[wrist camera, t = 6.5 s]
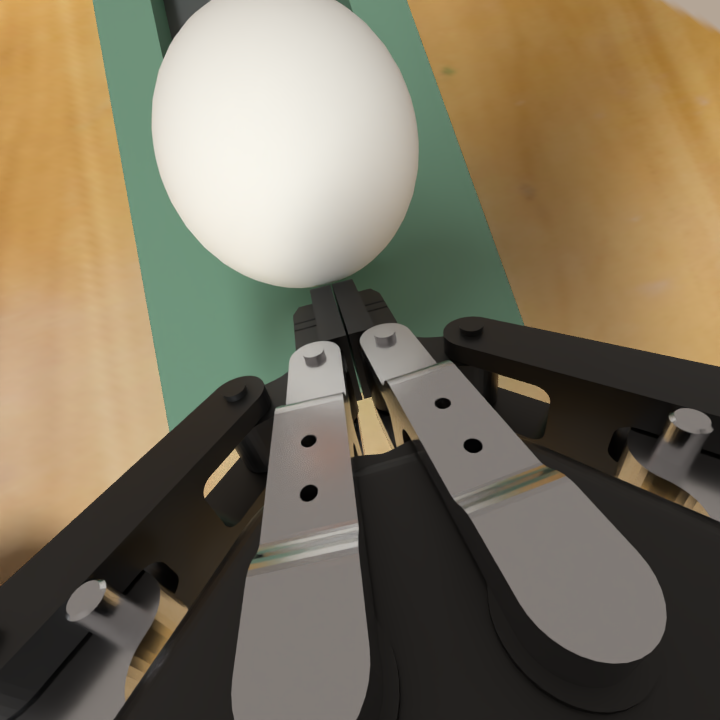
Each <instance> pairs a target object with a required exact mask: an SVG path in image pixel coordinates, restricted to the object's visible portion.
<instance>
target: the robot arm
mask: <svg viewBox="0 0 720 720" xmlns="http://www.w3.org/2000/svg"><path fill="white" fill-rule="evenodd" d="M332 288H333V292H334V295H333V292H332V289H331V286H330V285H326V286H322V287H319V288H315V289H311V290H310V294H311V300H312V304H309V305H305V306H302V307H298V309H297V310H296V312H295V314H294V315H293V322H294V331H295V332H294V334H295V347H296V351H295V352H294V353H293V355H292V356H291V358H290V361H289V371H288V372H287V373H285V374H284V375H283V376H281V377H279V378H277V379H276V380H274V381H272V382H269V383H267V384H265V385H264V383H263V381H262V380H261V379H260V378H259V377H256V376H242V377H238V378H235V379H232V380H230V381H228V382H226V383H224V384H223V385H221V386H220V387H219V388H218V389H216V390H215V391H214V392H213V393H212V394H211V395H210V396H209V397H208V398H207V399H205V400H204V401H203V402H202V403H201V404H200V405H199V406H198V407H197V408H196V409H195V410H193V411H192V412H191V413H190V414H189V415H188V416H187V417H186V418H185V419H184V420H182V421H181V422H180V423H179V424H178V425H177V426H176V427H175V428H174V429H173V430H171V431H170V432H169V433H168V434H167V435H166V436H165V437H164V438H163V439H162V440H161V441H159V442H158V443H157V444H156V445H155V446H154V447H153V448H152V449H151V450H150V451H148V452H147V453H146V454H145V455H144V456H143V457H142V458H141V459H140V460H139V461H138V462H136V463H135V464H134V465H133V466H132V467H131V468H130V469H129V470H128V471H127V472H125V473H124V474H123V475H122V476H121V477H120V478H119V479H118V480H117V481H116V482H115V483H113V484H112V485H111V486H110V487H109V488H108V489H107V490H106V491H105V492H104V493H102V494H101V495H100V496H99V497H98V498H97V499H96V500H95V501H94V502H93V503H92V504H90V505H89V506H88V507H87V508H86V509H85V510H84V511H83V512H82V513H81V514H79V515H78V516H77V517H76V518H75V519H74V520H73V521H72V522H71V523H70V524H69V525H67V526H66V527H65V528H64V529H63V530H62V531H61V532H60V533H59V534H58V535H56V536H55V537H54V538H53V539H52V540H51V541H50V542H49V543H48V544H47V545H46V546H44V547H43V548H42V549H41V550H40V551H39V552H38V553H37V554H36V555H35V556H33V557H32V558H31V559H30V560H29V561H28V562H27V563H26V564H25V565H24V566H23V567H21V568H20V569H19V570H18V571H17V572H16V573H15V574H14V575H13V576H12V577H10V578H9V579H8V580H7V581H6V582H5V583H4V584H3V585H2V586H1V587H0V720H720V367H718V366H713V365H708V364H703V363H699V362H694V361H689V360H684V359H679V358H675V357H670V356H665V355H660V354H656V353H651V352H646V351H641V350H637V349H632V348H627V347H622V346H617V345H613V344H608V343H603V342H598V341H594V340H589V339H584V338H579V337H575V336H570V335H565V334H560V333H556V332H551V331H546V330H541V329H536V328H532V327H527V326H522V325H517V324H513V323H508V322H503V321H498V320H494V319H489V318H484V317H476V316H471V317H463V318H459V319H456V320H453V321H451V322H450V323H448V324H447V325H446V326H445V328H444V330H443V336H441V337H416V336H414V334H413V333H412V332H411V331H410V329H409V328H408V327H406V326H404V325H401V324H398V323H397V321H396V319H395V318H394V316H393V314H392V313H391V311H390V309H389V308H388V306H387V304H386V302H385V301H384V299H383V297H382V296H381V294H380V293H379V292H377V291H375V290H373V289H371V288H370V289H366V290H362V291H358V290H357V288H356V286H355V284H354V282H353V279H349V280H345V281H341V282H338V283H334V284H332ZM334 296H335V298H334ZM335 299H336V302H335ZM336 303H337V305H336ZM337 307H338V308H337ZM354 367H355V368H354ZM355 370H356V372H355ZM356 373H357V376H358V379H359V383H360V386H361V389H362V392H363V395H364V399H365V398H369V397H372V399H373V402H374V406H375V411H376V415H377V418H378V420H379V422H380V425H381V427H382V429H383V431H384V433H385V436H386V438H387V440H388V442H389V444H390V447H391V449H392V450H391V451H389V452H386V453H383V454H376V455H365V451H364V445H363V439H362V433H361V426H360V421H359V417H358V412H359V409H358V405H357V401H359V400H362V396H361V392H360V388H359V384H358V380H357V376H356ZM498 374H499V375H503V376H506V377H509V378H513V379H516V380H519V381H523V382H526V383H529V384H532V385H535V386H538V387H540V388H542V389H543V390H544V391H545V392H546V393H547V394H548V395H549V397H550V404H548V403H545V402H542V401H539V400H536V399H533V398H530V397H527V396H524V395H521V394H518V393H515V392H512V391H508V390H505V389H502V388H499V387H498ZM234 449H236V451H237V452H238V454H239V456H240V458H239V459H238V460H237V462H236V463H235V464H234V465H233V466H232V467H231V469H230V470H229V471H228V472H227V473H226V474H225V476H224V477H223V478H222V479H221V480H220V481H219V483H218V484H217V485H216V486H215V487H214V488H213V490H212V491H211V492H210V493H209V494H208V495H207V497H206V498H204V494H203V492H204V487H205V484H206V482H207V480H208V478H209V477H210V476H211V475H212V473H213V472H214V471H215V470H216V469H217V468H218V467H219V466H220V464H221V463H222V462H223V461H224V460H225V459H226V458H227V457H228V455H229V454H230V453H231V452H232V451H233V450H234Z"/></svg>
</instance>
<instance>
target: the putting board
mask: <svg viewBox="0 0 720 720" xmlns="http://www.w3.org/2000/svg"><path fill="white" fill-rule="evenodd" d="M210 1H211V0H93V5H94V11H95V16H96V22H97V27H98V33H99V39H100V44H101V50H102V55H103V61H104V67H105V72H106V78H107V84H108V89H109V95H110V100H111V106H112V112H113V117H114V123H115V128H116V134H117V140H118V145H119V151H120V156H121V162H122V168H123V173H124V179H125V185H126V190H127V196H128V201H129V207H130V213H131V218H132V224H133V229H134V235H135V241H136V246H137V252H138V257H139V263H140V269H141V274H142V280H143V285H144V291H145V297H146V302H147V308H148V314H149V319H150V325H151V330H152V336H153V342H154V347H155V353H156V358H157V364H158V370H159V375H160V381H161V386H162V392H163V398H164V403H165V409H166V415H167V420H168V426H169V431H171V430H173V429H174V428H175V427H176V426H177V425H178V424H179V423H180V422H181V421H182V420H184V419H185V418H186V417H187V416H188V415H189V414H190V413H191V412H192V411H193V410H195V409H196V408H197V407H198V406H199V405H200V404H201V403H202V402H203V401H204V400H205V399H207V398H208V397H209V396H210V395H211V394H212V393H213V392H214V391H215V390H216V389H218V388H219V387H220V386H221V385H223V384H224V383H226V382H228V381H230V380H232V379H235V378H238V377H242V376H256V377H259V378H260V379H261V380H262V381H263V383H264V385H265V384H267V383H269V382H272V381H274V380H276V379H277V378H279V377H281V376H283V375H284V374H285V373H287V372H288V371H289V361H290V358H291V356H292V355H293V353H294V352H295V351H296V347H295V334H294V332H295V331H294V322H293V315H294V314H295V312H296V310H297V309H298V307H302V306H305V305H309V304H312V300H311V294H310V290H311V289H315V288H319V287H322V286H326V285H330V286H331V289H332V292H333V288H332V284H334V283H338V282H341V281H345V280H349V279H353V282H354V284H355V286H356V288H357V290H358V291H362V290H366V289H370V288H371V289H373V290H375V291H377V292H379V293H380V294H381V296H382V297H383V299H384V301H385V302H386V304H387V306H388V308H389V309H390V311H391V313H392V314H393V316H394V318H395V319H396V321H397V323H398V324H401V325H404V326H406V327H408V328H409V329H410V331H411V332H412V333H413V334H414V336H416V337H441V336H443V330H444V328H445V326H446V325H447V324H448V323H450V322H451V321H453V320H456V319H459V318H463V317H471V316H476V317H484V318H489V319H494V320H498V321H503V322H508V323H513V324H517V325H522V326H524V323H523V320H522V318H521V315H520V312H519V309H518V307H517V304H516V301H515V298H514V296H513V293H512V290H511V287H510V285H509V282H508V279H507V276H506V273H505V271H504V268H503V265H502V262H501V260H500V257H499V254H498V251H497V249H496V246H495V243H494V240H493V238H492V235H491V232H490V229H489V226H488V224H487V221H486V218H485V215H484V213H483V210H482V207H481V204H480V202H479V199H478V196H477V193H476V191H475V188H474V185H473V182H472V180H471V177H470V174H469V171H468V168H467V166H466V163H465V160H464V157H463V155H462V152H461V149H460V146H459V144H458V141H457V138H456V135H455V133H454V130H453V127H452V124H451V122H450V119H449V116H448V113H447V110H446V108H445V105H444V102H443V99H442V97H441V94H440V91H439V88H438V86H437V83H436V80H435V77H434V75H433V72H432V69H431V66H430V63H429V61H428V58H427V55H426V52H425V50H424V47H423V44H422V41H421V39H420V36H419V33H418V30H417V28H416V25H415V22H414V19H413V17H412V14H411V11H410V8H409V5H408V3H407V0H336V1H338V2H339V3H341V4H342V5H344V6H345V7H347V8H348V9H349V10H350V11H352V12H353V13H354V14H355V15H357V16H358V17H359V18H360V19H362V20H363V21H364V22H365V23H366V24H367V25H368V26H369V27H370V28H371V30H372V31H373V32H374V33H375V34H376V35H377V37H378V38H379V39H380V40H381V41H382V42H383V43H384V45H385V46H386V48H387V50H388V51H389V53H390V54H391V56H392V58H393V59H394V61H395V63H396V64H397V66H398V68H399V69H400V72H401V74H402V76H403V79H404V81H405V83H406V86H407V88H408V91H409V94H410V97H411V100H412V104H413V108H414V112H415V117H416V123H417V130H418V139H419V156H418V172H417V177H416V182H415V187H414V193H413V196H412V199H411V202H410V204H409V207H408V210H407V212H406V215H405V218H404V220H403V221H402V223H401V225H400V227H399V229H398V230H397V232H396V234H395V235H394V237H393V238H392V240H391V241H390V242H389V243H388V245H387V246H386V247H385V248H384V249H383V250H382V251H381V252H380V253H379V254H378V255H377V256H376V257H375V258H374V259H373V260H372V261H371V262H370V263H369V264H367V265H366V266H365V267H363V268H362V269H361V270H359V271H357V272H356V273H354V274H352V275H350V276H348V277H346V278H344V279H341V280H339V281H336V282H333V283H330V284H326V285H321V286H317V287H308V288H286V287H280V286H274V285H271V284H267V283H263V282H260V281H256V280H254V279H252V278H249V277H247V276H244V275H243V274H241V273H239V272H237V271H235V270H234V269H232V268H230V267H229V266H227V265H225V264H224V263H223V262H221V261H220V260H219V259H218V258H217V257H215V256H214V255H213V254H212V253H210V252H209V251H208V250H207V249H206V248H204V246H203V245H202V244H201V243H200V242H199V241H198V240H197V238H196V237H195V236H194V235H193V234H192V233H191V232H190V230H189V229H188V228H187V227H186V225H185V224H184V222H183V221H182V219H181V217H180V216H179V214H178V213H177V211H176V209H175V208H174V206H173V204H172V203H171V200H170V198H169V196H168V194H167V191H166V189H165V187H164V184H163V181H162V179H161V176H160V173H159V169H158V165H157V162H156V158H155V152H154V146H153V137H152V100H153V95H154V90H155V85H156V81H157V76H158V72H159V69H160V66H161V64H162V61H163V59H164V57H165V54H166V52H167V50H168V48H169V46H170V44H171V42H172V41H173V39H174V37H175V36H176V35H177V33H178V32H179V31H180V29H181V28H182V27H183V25H184V24H185V23H186V21H187V20H188V19H189V18H190V17H191V16H192V15H193V14H194V13H195V12H196V11H198V10H199V9H200V8H201V7H203V6H204V5H206V4H207V3H208V2H210ZM333 295H334V292H333ZM334 298H335V296H334ZM335 302H336V299H335ZM336 305H337V303H336ZM337 308H338V307H337ZM354 368H355V367H354ZM355 372H356V370H355ZM356 376H357V373H356ZM357 380H358V384H359V388H360V392H362V389H361V386H360V383H359V379H358V376H357Z"/></svg>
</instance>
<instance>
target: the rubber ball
mask: <svg viewBox="0 0 720 720" xmlns="http://www.w3.org/2000/svg"><path fill="white" fill-rule="evenodd" d="M152 137H153V146H154V152H155V158H156V162H157V165H158V169H159V173H160V176H161V179H162V181H163V184H164V187H165V189H166V191H167V194H168V196H169V198H170V200H171V203H172V204H173V206H174V208H175V209H176V211H177V213H178V214H179V216H180V217H181V219H182V221H183V222H184V224H185V225H186V227H187V228H188V229H189V230H190V232H191V233H192V234H193V235H194V236H195V237H196V238H197V240H198V241H199V242H200V243H201V244H202V245H203V246H204V248H206V249H207V250H208V251H209V252H210V253H212V254H213V255H214V256H215V257H217V258H218V259H219V260H220V261H221V262H223V263H224V264H225V265H227V266H229V267H230V268H232V269H234V270H235V271H237V272H239V273H241V274H243V275H244V276H247V277H249V278H252V279H254V280H256V281H260V282H263V283H267V284H271V285H274V286H280V287H286V288H308V287H317V286H321V285H326V284H330V283H333V282H336V281H339V280H341V279H344V278H346V277H348V276H350V275H352V274H354V273H356V272H357V271H359V270H361V269H362V268H363V267H365V266H366V265H367V264H369V263H370V262H371V261H372V260H373V259H374V258H375V257H376V256H377V255H378V254H379V253H380V252H381V251H382V250H383V249H384V248H385V247H386V246H387V245H388V243H389V242H390V241H391V240H392V238H393V237H394V235H395V234H396V232H397V230H398V229H399V227H400V225H401V223H402V221H403V220H404V218H405V215H406V212H407V210H408V207H409V204H410V202H411V199H412V196H413V193H414V187H415V182H416V177H417V172H418V156H419V139H418V130H417V123H416V117H415V112H414V108H413V104H412V100H411V97H410V94H409V91H408V88H407V86H406V83H405V81H404V79H403V76H402V74H401V72H400V69H399V68H398V66H397V64H396V63H395V61H394V59H393V58H392V56H391V54H390V53H389V51H388V50H387V48H386V46H385V45H384V43H383V42H382V41H381V40H380V39H379V38H378V37H377V35H376V34H375V33H374V32H373V31H372V30H371V28H370V27H369V26H368V25H367V24H366V23H365V22H364V21H363V20H362V19H360V18H359V17H358V16H357V15H355V14H354V13H353V12H352V11H350V10H349V9H348V8H347V7H345V6H344V5H342V4H341V3H339V2H338V1H336V0H211V1H210V2H208V3H207V4H206V5H204V6H203V7H201V8H200V9H199V10H198V11H196V12H195V13H194V14H193V15H192V16H191V17H190V18H189V19H188V20H187V21H186V23H185V24H184V25H183V27H182V28H181V29H180V31H179V32H178V33H177V35H176V36H175V37H174V39H173V41H172V42H171V44H170V46H169V48H168V50H167V52H166V54H165V57H164V59H163V61H162V64H161V66H160V69H159V72H158V76H157V81H156V85H155V90H154V95H153V100H152Z"/></svg>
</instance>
